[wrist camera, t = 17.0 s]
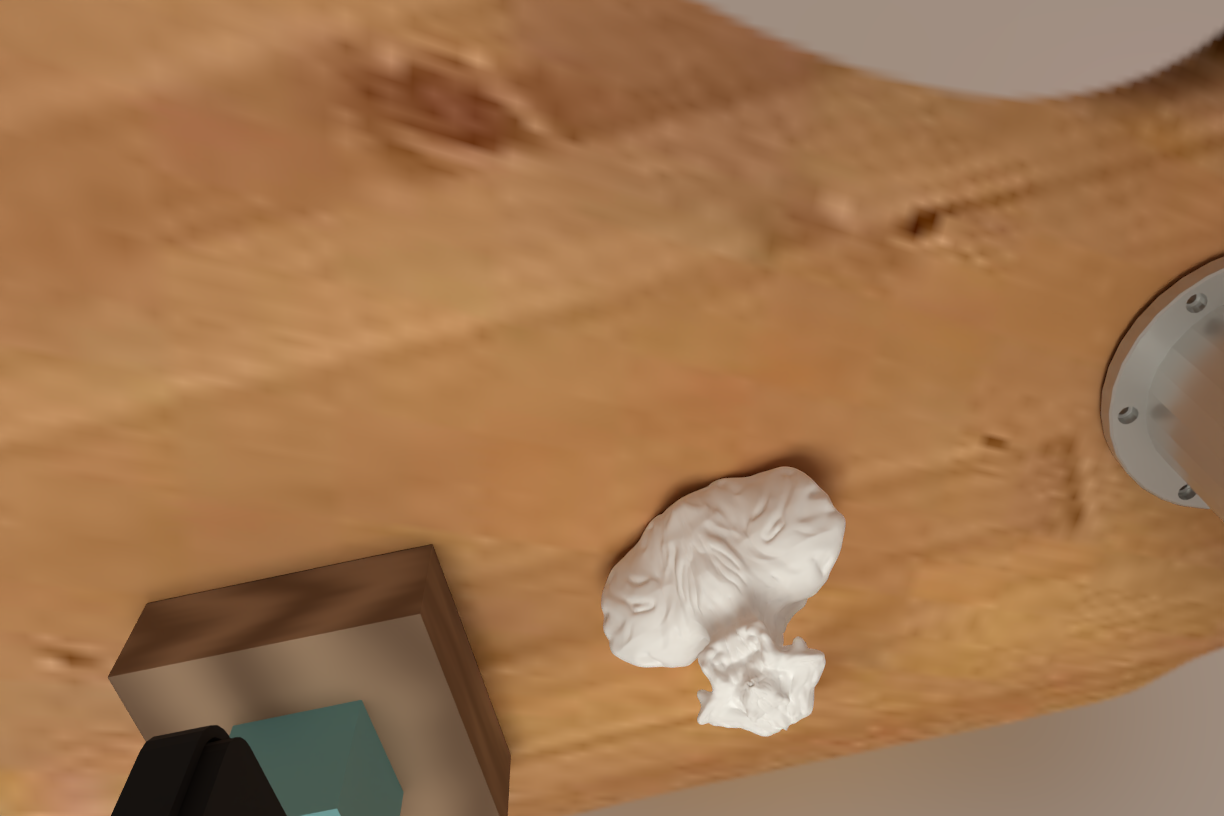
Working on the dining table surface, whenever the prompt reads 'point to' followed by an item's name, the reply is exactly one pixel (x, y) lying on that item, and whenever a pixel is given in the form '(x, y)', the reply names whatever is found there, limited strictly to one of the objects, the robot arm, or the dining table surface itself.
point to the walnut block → (331, 670)
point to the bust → (730, 594)
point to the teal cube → (325, 762)
